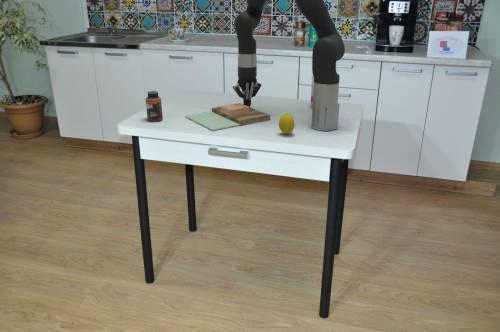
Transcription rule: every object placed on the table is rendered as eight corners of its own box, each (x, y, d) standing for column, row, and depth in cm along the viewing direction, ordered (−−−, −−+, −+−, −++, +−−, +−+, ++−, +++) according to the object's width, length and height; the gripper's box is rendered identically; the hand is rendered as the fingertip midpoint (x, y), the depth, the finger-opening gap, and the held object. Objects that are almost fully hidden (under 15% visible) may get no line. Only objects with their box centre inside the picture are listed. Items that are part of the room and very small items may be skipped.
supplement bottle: (161, 117, 190) (159, 89, 186) (163, 121, 185) (161, 93, 181) (146, 118, 189) (144, 90, 184) (148, 122, 183) (146, 94, 179)
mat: (239, 125, 180) (239, 124, 180) (212, 131, 174) (212, 129, 173) (211, 112, 197) (211, 111, 197) (185, 117, 191) (185, 115, 190)
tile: (249, 112, 190) (249, 106, 189) (230, 116, 185) (230, 110, 184) (239, 108, 195) (239, 103, 194) (221, 112, 190) (220, 106, 189)
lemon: (293, 132, 173) (293, 111, 170) (294, 137, 168) (295, 115, 165) (278, 132, 173) (278, 111, 170) (279, 137, 168) (280, 115, 165)
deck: (270, 120, 187) (270, 115, 187) (240, 125, 180) (240, 120, 179) (239, 107, 204) (239, 103, 204) (211, 112, 197) (211, 108, 196)
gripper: (238, 68, 180) (238, 112, 187) (266, 64, 187) (265, 107, 194) (227, 65, 186) (228, 107, 193) (255, 61, 193) (255, 103, 199)
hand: (247, 107), depth 193 cm, fingers closed
